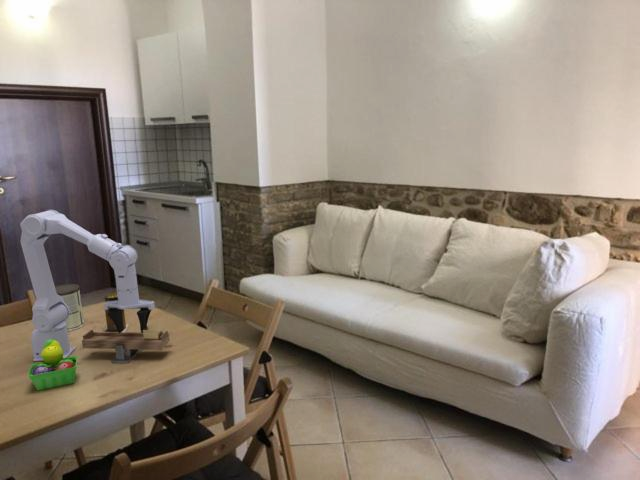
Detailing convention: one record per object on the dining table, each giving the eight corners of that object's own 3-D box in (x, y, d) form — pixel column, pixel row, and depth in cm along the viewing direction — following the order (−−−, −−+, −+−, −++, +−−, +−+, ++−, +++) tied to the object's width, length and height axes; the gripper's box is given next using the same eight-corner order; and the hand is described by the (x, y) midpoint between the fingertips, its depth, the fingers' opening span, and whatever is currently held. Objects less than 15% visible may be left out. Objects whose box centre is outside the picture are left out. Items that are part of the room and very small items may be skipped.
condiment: (129, 324, 176) (125, 291, 173) (125, 333, 168) (121, 299, 165) (107, 326, 175) (102, 293, 172) (102, 335, 166) (97, 301, 164)
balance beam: (82, 350, 148) (80, 337, 147) (94, 341, 154) (93, 328, 154) (161, 352, 146) (160, 338, 145) (170, 342, 152) (168, 329, 151)
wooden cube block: (144, 342, 147) (142, 330, 146) (149, 337, 151) (148, 324, 150) (158, 343, 147) (157, 330, 146) (164, 337, 151) (163, 325, 150)
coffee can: (46, 328, 175) (40, 289, 172) (75, 319, 183) (69, 282, 180) (61, 334, 169) (55, 294, 166) (90, 324, 177) (85, 286, 174)
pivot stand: (111, 363, 146) (109, 346, 145) (128, 348, 156) (126, 332, 155) (128, 363, 145) (126, 346, 144) (143, 348, 156) (141, 332, 154)
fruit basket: (30, 394, 130) (23, 353, 127) (34, 379, 138) (28, 341, 135) (79, 384, 134) (73, 345, 132) (80, 370, 142) (74, 333, 140)
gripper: (96, 292, 143) (102, 337, 146) (145, 292, 141) (150, 337, 144) (108, 285, 150) (114, 327, 152) (155, 284, 148) (160, 327, 151)
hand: (132, 331), depth 149 cm, fingers open, 6 cm apart
